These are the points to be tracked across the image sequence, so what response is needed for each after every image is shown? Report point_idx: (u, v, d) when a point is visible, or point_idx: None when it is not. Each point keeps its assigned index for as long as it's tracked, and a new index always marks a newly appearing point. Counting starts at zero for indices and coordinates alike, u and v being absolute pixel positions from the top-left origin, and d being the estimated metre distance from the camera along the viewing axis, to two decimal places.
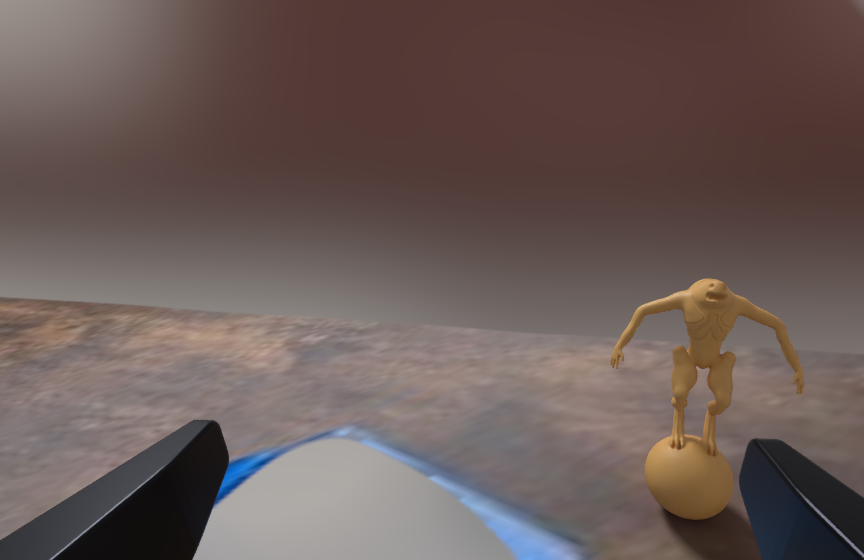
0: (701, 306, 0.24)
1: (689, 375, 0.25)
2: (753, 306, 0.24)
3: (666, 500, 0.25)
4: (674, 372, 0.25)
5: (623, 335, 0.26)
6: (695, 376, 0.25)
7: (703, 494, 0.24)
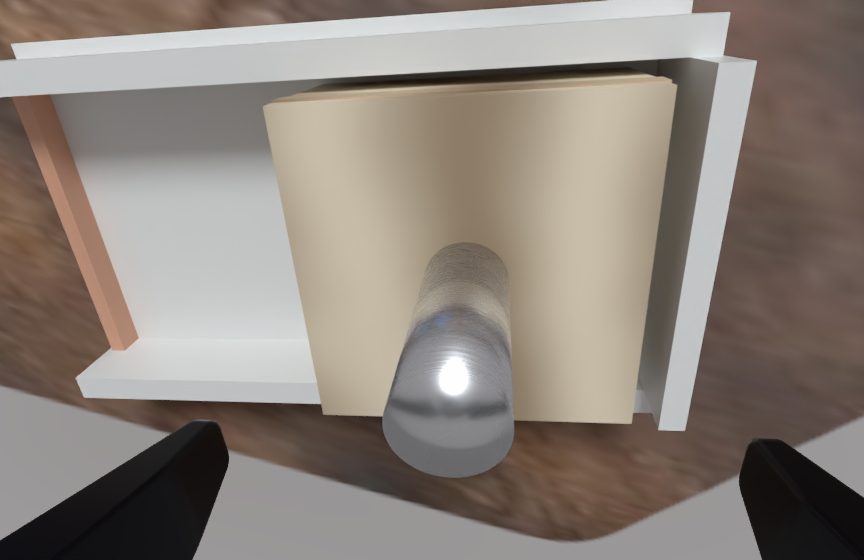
0: None
1: None
2: None
3: None
4: None
5: None
6: None
7: None
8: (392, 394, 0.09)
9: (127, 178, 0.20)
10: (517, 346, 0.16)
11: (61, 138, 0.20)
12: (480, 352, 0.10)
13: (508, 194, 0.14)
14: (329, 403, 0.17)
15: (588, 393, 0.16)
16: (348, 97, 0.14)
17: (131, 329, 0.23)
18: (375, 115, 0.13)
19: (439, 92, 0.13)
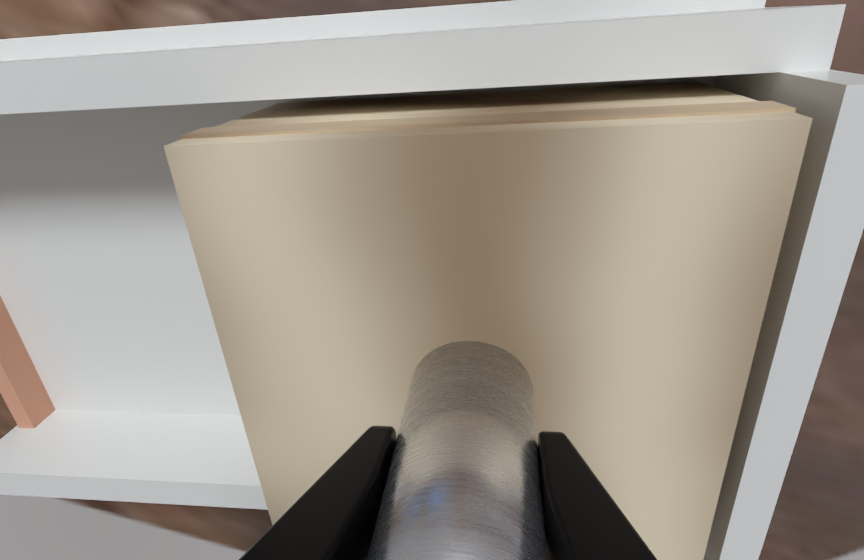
0: None
1: None
2: None
3: None
4: None
5: None
6: None
7: None
8: None
9: (22, 221, 0.16)
10: None
11: None
12: None
13: (535, 277, 0.09)
14: None
15: (641, 536, 0.12)
16: (295, 131, 0.09)
17: (44, 400, 0.19)
18: (333, 160, 0.09)
19: (431, 125, 0.09)
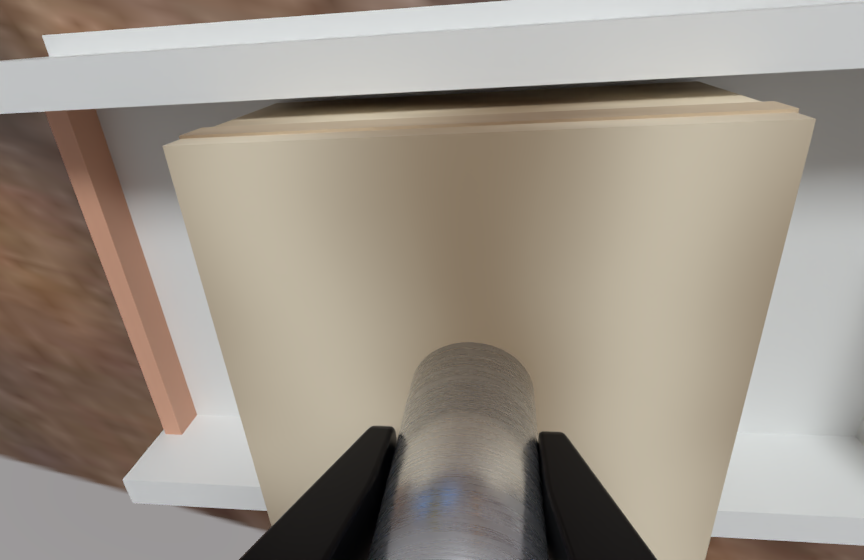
0: None
1: None
2: None
3: None
4: None
5: None
6: None
7: None
8: None
9: None
10: None
11: (108, 164, 0.14)
12: None
13: (536, 278, 0.09)
14: None
15: (642, 538, 0.11)
16: (294, 131, 0.09)
17: (189, 405, 0.18)
18: (333, 160, 0.08)
19: (431, 125, 0.09)
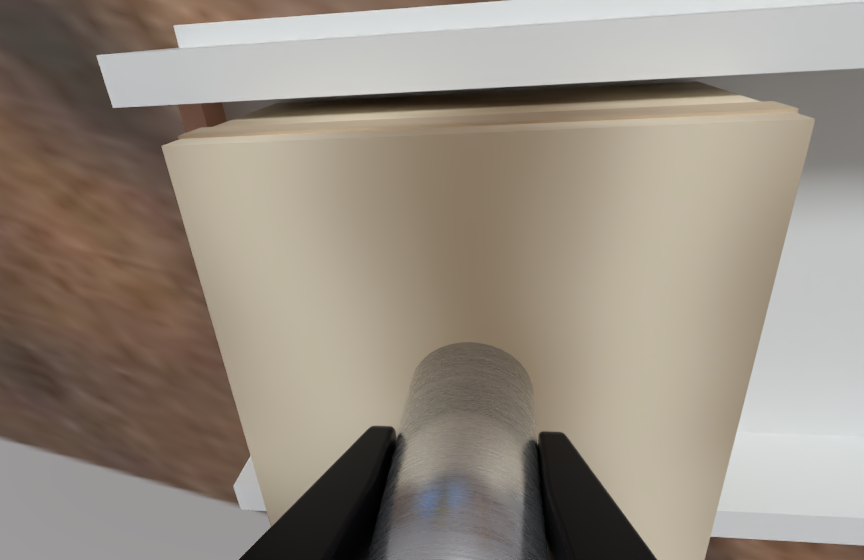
0: None
1: None
2: None
3: None
4: None
5: None
6: None
7: None
8: None
9: None
10: None
11: None
12: None
13: (535, 278, 0.09)
14: None
15: None
16: (294, 131, 0.09)
17: None
18: (332, 160, 0.08)
19: (431, 125, 0.09)
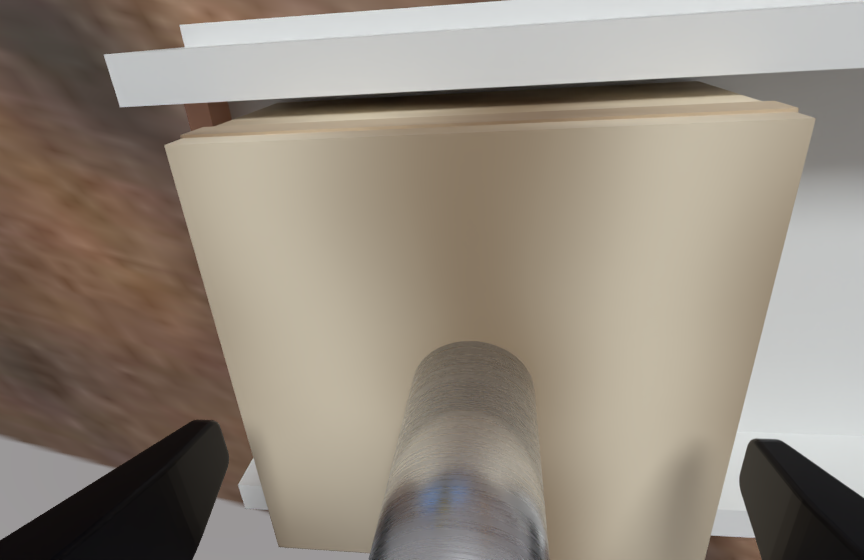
0: None
1: None
2: None
3: None
4: None
5: None
6: None
7: None
8: None
9: None
10: (544, 476, 0.11)
11: None
12: None
13: (536, 277, 0.09)
14: (286, 534, 0.13)
15: (642, 537, 0.11)
16: (296, 131, 0.09)
17: None
18: (334, 160, 0.09)
19: (433, 124, 0.09)
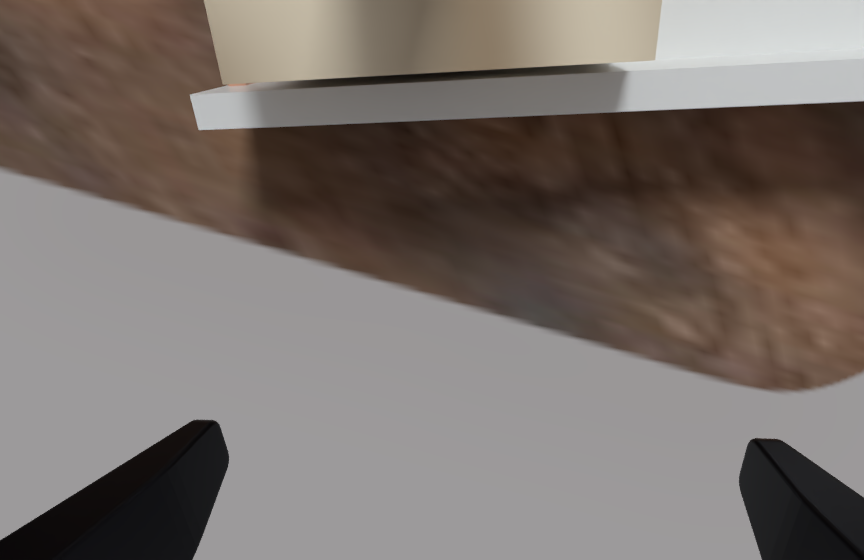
0: None
1: None
2: None
3: None
4: None
5: None
6: None
7: None
8: None
9: None
10: None
11: None
12: None
13: None
14: (229, 61, 0.12)
15: (593, 5, 0.11)
16: None
17: None
18: None
19: None
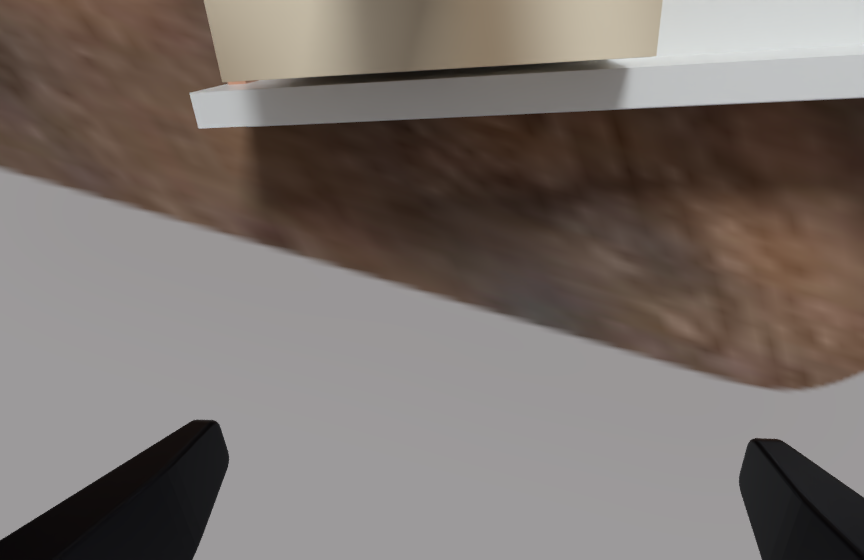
0: None
1: None
2: None
3: None
4: None
5: None
6: None
7: None
8: None
9: None
10: None
11: None
12: None
13: None
14: (228, 59, 0.12)
15: (594, 1, 0.11)
16: None
17: None
18: None
19: None
